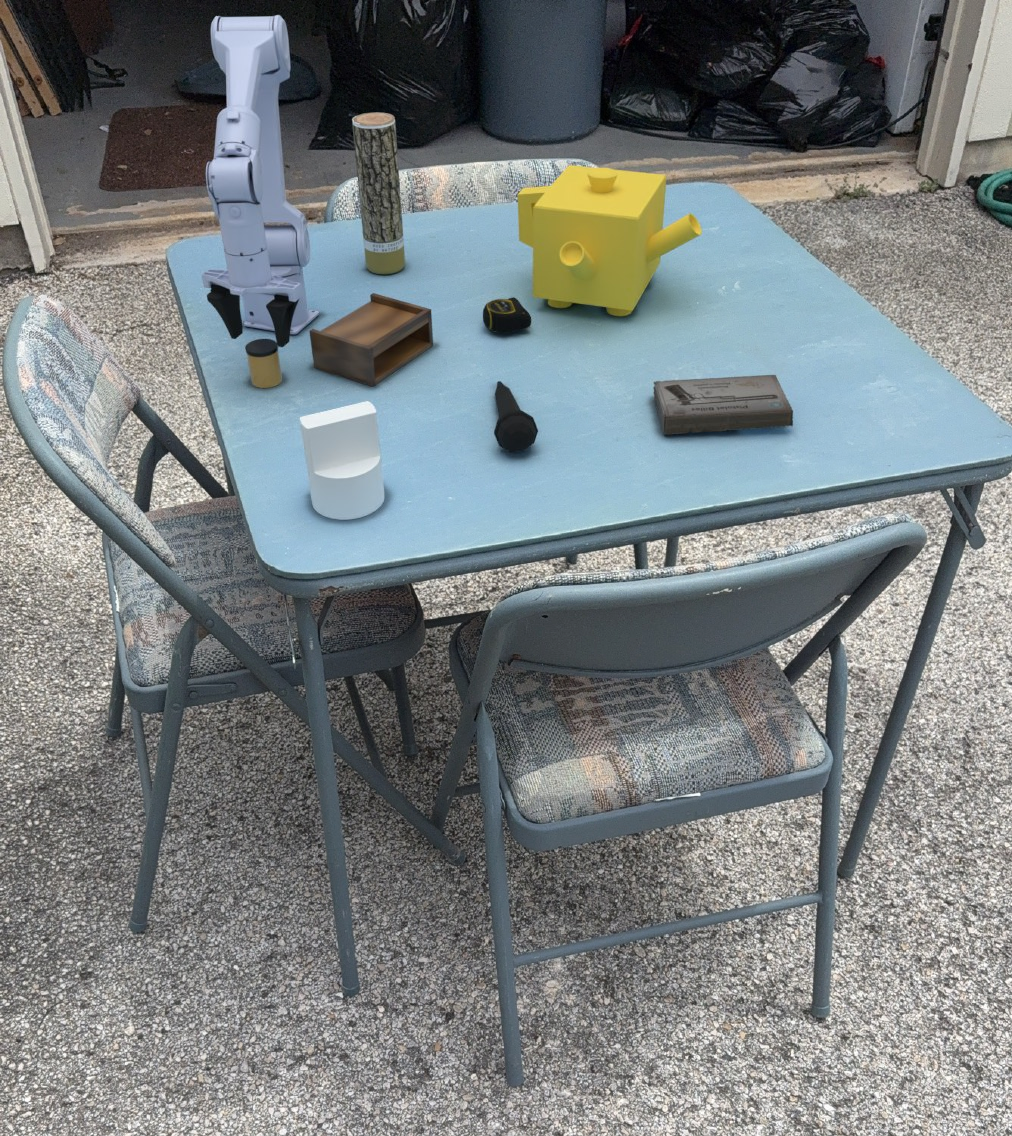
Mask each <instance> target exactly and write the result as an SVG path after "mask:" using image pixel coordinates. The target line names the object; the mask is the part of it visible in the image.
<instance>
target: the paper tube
mask: <svg viewBox="0 0 1012 1136" xmlns="http://www.w3.org/2000/svg"><path fill="white" fill-rule="evenodd" d="M351 121H352V132H353V144H354V153H355V155H354V156H355V164H356V176H357V187H358V195H359V197H358V198H359V208H360V219H361V228H362V239H363V248H364V249H363V250H364V258H365V259H364V260H365V267H366V269H367V271H369V272H371V273H372V274H375V275H392V274H396V273H398V272H401V271H402V270H403V269H404V267H405V265H406V256H405V239H404V226H403V225H404V223H403V212H402V211H403V209H402V196H401V184H400V183H401V182H400V171H399V170H400V169H399V156H398V142H397V141H398V139H397V128H396V119H395V116H394V115H393V114H391V113H386V112H366V113H361V114H358V115H355V116H354V117H352V119H351Z"/></svg>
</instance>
